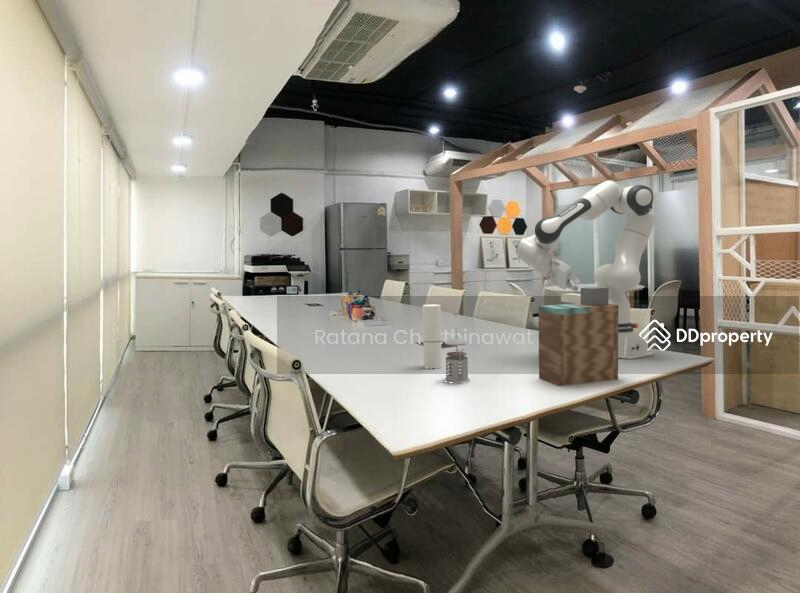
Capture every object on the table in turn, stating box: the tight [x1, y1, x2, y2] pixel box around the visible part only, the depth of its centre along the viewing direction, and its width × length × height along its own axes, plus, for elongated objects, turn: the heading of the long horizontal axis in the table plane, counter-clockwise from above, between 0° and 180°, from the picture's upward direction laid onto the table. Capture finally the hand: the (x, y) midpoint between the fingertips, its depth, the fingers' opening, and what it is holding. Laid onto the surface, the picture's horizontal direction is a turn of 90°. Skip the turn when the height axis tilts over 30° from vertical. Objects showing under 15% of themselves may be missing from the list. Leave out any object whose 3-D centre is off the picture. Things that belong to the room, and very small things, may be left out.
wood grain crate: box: [538, 303, 619, 387], centre depth 185 cm, size 24×12×26 cm, turn 107°
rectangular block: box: [560, 286, 609, 306], centre depth 192 cm, size 7×20×6 cm, turn 17°
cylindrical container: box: [422, 303, 443, 369], centre depth 211 cm, size 7×7×25 cm
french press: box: [444, 310, 471, 384], centre depth 187 cm, size 10×12×25 cm
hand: (578, 286), depth 209 cm, fingers open, 8 cm apart
